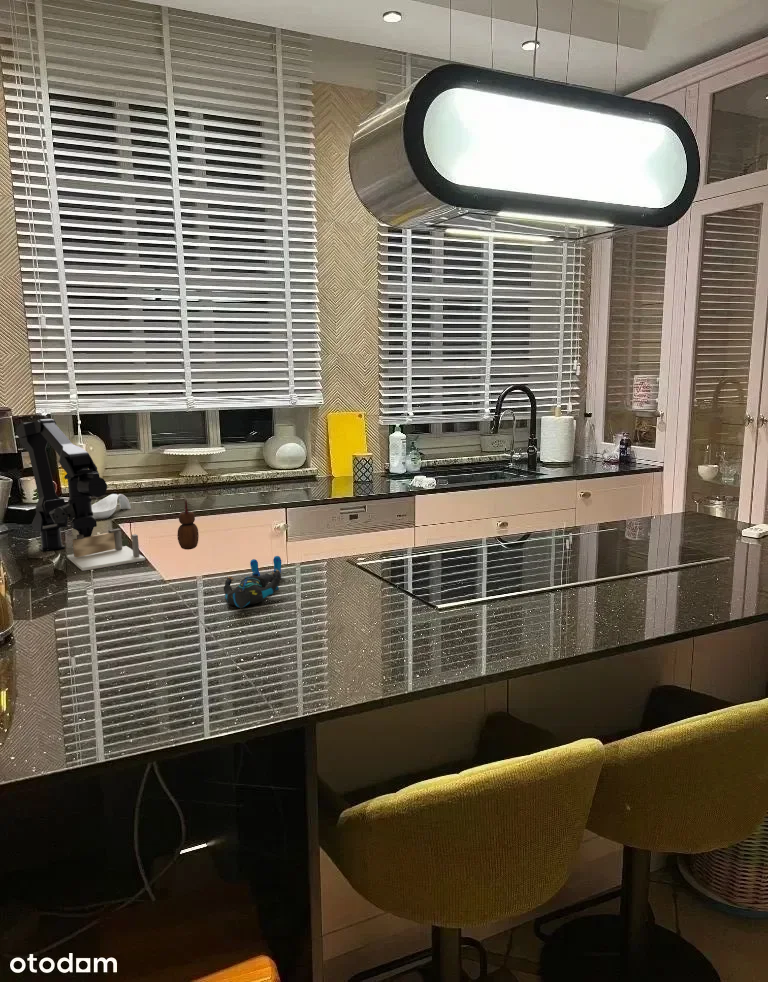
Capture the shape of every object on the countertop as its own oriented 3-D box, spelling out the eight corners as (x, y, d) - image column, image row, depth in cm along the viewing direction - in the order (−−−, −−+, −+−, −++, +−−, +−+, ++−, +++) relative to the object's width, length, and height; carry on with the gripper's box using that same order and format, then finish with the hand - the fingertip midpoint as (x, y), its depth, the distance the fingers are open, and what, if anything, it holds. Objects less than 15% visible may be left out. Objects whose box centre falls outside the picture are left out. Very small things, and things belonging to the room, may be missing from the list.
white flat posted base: (67, 557, 219) (64, 534, 218) (126, 548, 229) (124, 526, 227) (82, 570, 204) (79, 545, 202) (145, 560, 213) (143, 536, 212)
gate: (119, 546, 225) (117, 527, 224) (122, 547, 224) (121, 527, 223) (73, 556, 215) (71, 536, 214) (76, 557, 214) (74, 536, 213)
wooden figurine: (195, 550, 223) (191, 500, 220) (176, 551, 223) (172, 501, 220) (201, 545, 229) (198, 497, 227) (182, 546, 230) (179, 497, 227)
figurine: (290, 553, 190) (265, 581, 161) (294, 577, 191) (270, 610, 161) (239, 560, 191) (205, 590, 162) (243, 584, 192) (210, 618, 162)
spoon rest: (106, 521, 275) (104, 501, 273) (77, 521, 277) (75, 501, 276) (138, 509, 298) (137, 491, 296) (111, 509, 300) (110, 491, 299)
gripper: (48, 493, 223) (53, 545, 225) (50, 502, 206) (56, 557, 208) (88, 489, 227) (93, 540, 230) (94, 497, 211) (99, 552, 213)
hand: (85, 547), depth 220 cm, fingers closed
